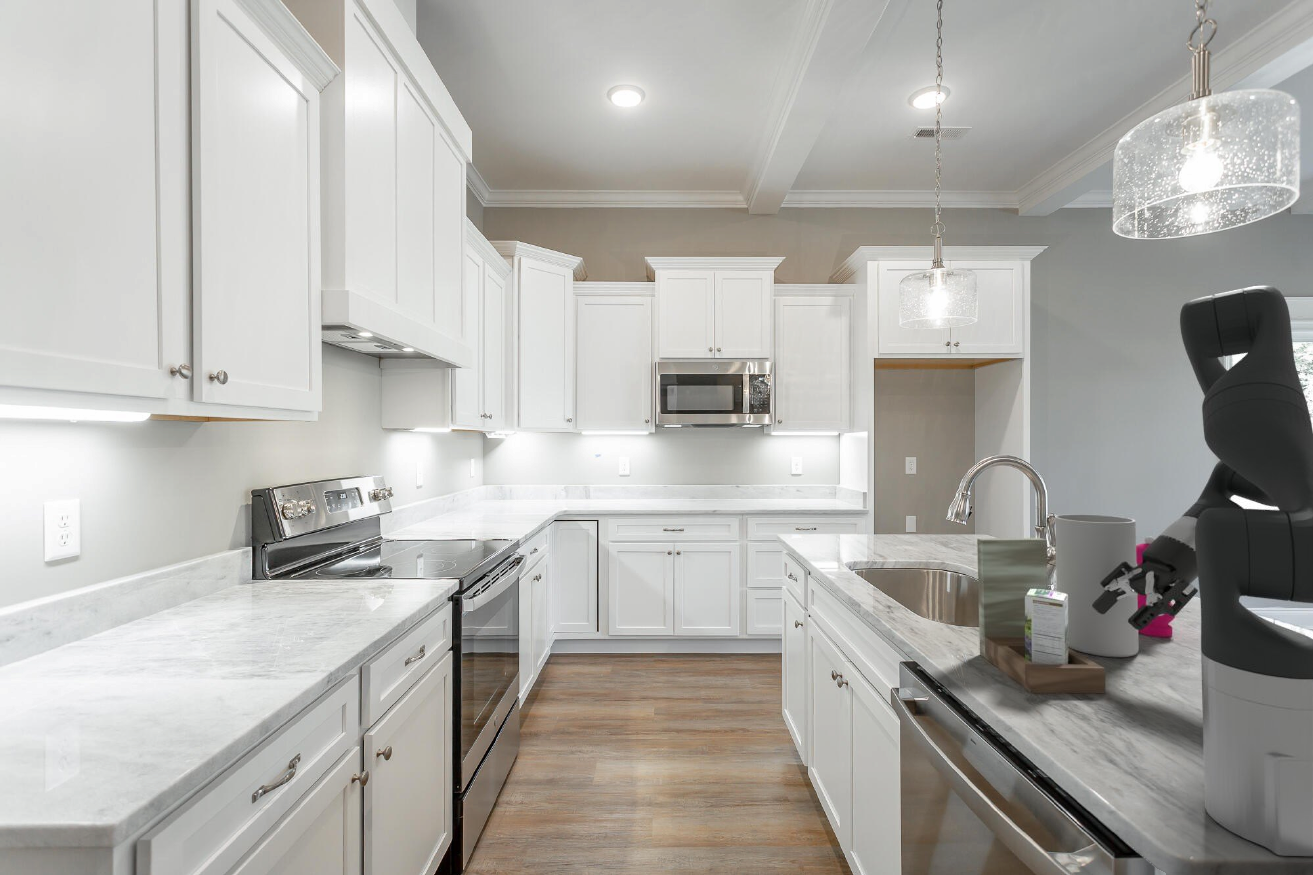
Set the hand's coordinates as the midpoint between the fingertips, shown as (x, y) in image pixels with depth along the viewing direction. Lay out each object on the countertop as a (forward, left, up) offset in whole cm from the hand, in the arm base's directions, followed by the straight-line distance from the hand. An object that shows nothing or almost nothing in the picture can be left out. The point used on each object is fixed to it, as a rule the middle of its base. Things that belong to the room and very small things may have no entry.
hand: (1114, 618), depth 98 cm
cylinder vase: (+15, -7, -10) cm, 20 cm away
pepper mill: (+24, -24, -10) cm, 35 cm away
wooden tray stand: (+3, +11, -10) cm, 15 cm away
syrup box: (0, +11, -10) cm, 15 cm away
